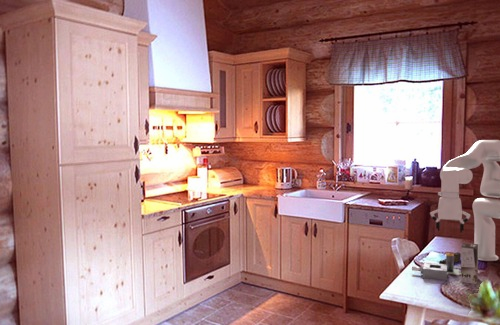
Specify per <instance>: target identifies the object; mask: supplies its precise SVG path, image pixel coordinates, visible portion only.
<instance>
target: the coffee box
mask: <svg viewBox="0 0 500 325" xmlns="http://www.w3.org/2000/svg"><path fill="white" fill-rule="evenodd" d="M478 275H479V260H478V244H474V243H471V242H470V243H469V242H463V243H462V244H461V247H460V282H461V283H466V284H467V283H468V284H472V285H477V283H478V277H479V276H478Z"/></svg>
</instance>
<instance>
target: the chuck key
mask: <svg viewBox="0 0 500 325" xmlns="http://www.w3.org/2000/svg"><path fill="white" fill-rule="evenodd" d="M454 253H455V252H453V251H446V252H445V257H446V258H445V259H446V264H447V272H454V269H455V268H454V264H455V263H454Z"/></svg>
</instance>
